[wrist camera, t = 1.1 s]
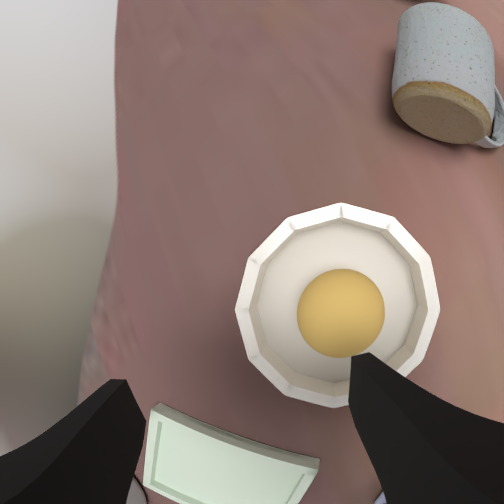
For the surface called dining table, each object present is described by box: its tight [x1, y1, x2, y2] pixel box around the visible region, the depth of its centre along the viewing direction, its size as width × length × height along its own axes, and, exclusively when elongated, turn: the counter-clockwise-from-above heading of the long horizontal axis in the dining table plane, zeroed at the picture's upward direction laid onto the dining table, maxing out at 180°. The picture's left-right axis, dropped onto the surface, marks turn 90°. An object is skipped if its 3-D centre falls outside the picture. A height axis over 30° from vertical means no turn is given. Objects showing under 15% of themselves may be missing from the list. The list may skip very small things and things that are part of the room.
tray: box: [143, 403, 320, 504], centre depth 20 cm, size 14×11×2 cm
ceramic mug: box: [392, 2, 504, 148], centre depth 13 cm, size 11×8×8 cm
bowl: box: [235, 203, 440, 408], centre depth 17 cm, size 12×12×3 cm
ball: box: [297, 269, 385, 358], centre depth 16 cm, size 5×5×5 cm
